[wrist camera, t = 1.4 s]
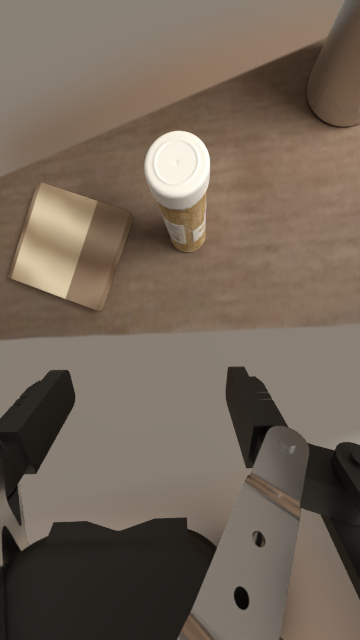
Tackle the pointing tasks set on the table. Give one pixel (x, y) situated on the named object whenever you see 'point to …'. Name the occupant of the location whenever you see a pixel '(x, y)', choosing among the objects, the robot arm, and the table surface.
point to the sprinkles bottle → (180, 186)
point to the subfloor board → (71, 246)
